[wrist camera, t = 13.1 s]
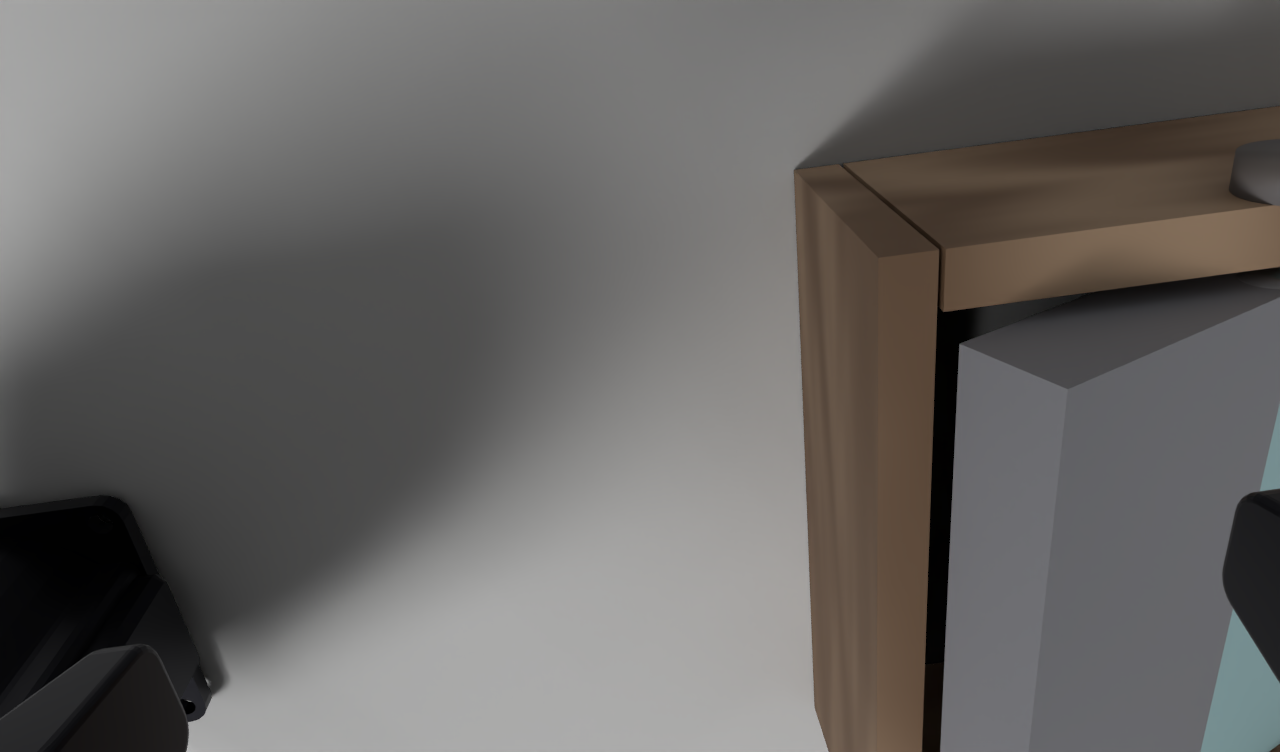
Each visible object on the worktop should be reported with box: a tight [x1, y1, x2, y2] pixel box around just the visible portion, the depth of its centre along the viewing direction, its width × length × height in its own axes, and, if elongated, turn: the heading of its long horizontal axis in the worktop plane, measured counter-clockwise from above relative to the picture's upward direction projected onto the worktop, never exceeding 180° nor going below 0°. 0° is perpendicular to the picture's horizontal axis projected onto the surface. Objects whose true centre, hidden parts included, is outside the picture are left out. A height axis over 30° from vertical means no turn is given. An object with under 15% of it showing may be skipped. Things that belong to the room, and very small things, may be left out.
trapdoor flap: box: [940, 267, 1280, 752], centre depth 18 cm, size 12×12×2 cm
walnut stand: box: [794, 106, 1280, 752], centre depth 19 cm, size 14×16×6 cm
